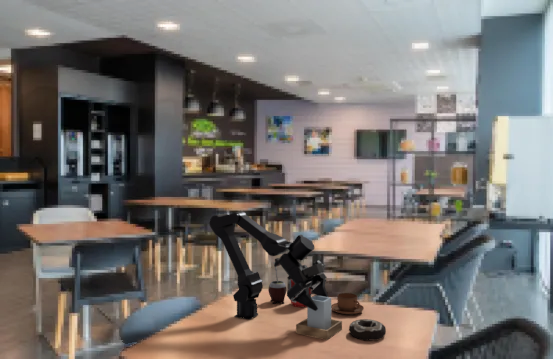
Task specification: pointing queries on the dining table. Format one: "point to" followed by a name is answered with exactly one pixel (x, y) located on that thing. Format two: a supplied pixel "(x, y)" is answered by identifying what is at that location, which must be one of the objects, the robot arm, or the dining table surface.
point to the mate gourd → (277, 290)
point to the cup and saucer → (347, 304)
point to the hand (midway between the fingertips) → (323, 306)
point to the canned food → (295, 297)
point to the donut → (367, 329)
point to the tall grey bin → (320, 313)
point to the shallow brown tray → (319, 333)
